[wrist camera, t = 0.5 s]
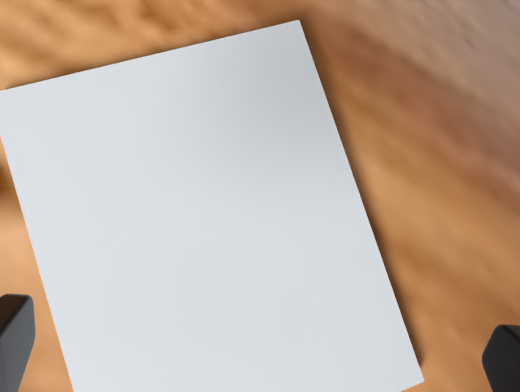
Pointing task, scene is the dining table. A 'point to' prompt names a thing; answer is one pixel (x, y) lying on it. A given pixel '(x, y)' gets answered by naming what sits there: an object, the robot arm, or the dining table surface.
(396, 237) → the dining table surface
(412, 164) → the dining table surface
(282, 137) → the ceramic tile
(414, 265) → the dining table surface
